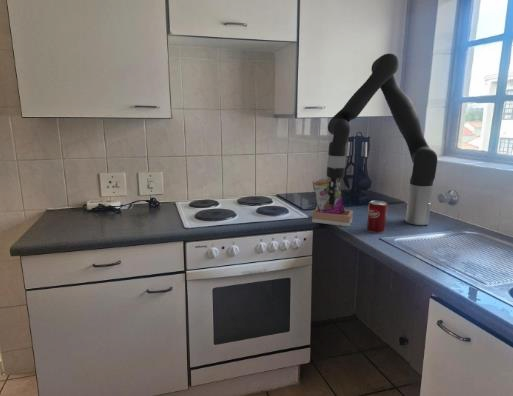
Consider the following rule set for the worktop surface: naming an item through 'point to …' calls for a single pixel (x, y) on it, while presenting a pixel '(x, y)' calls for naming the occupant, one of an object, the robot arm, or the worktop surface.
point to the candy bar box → (327, 197)
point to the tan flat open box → (332, 218)
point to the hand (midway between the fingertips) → (333, 202)
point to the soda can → (376, 216)
